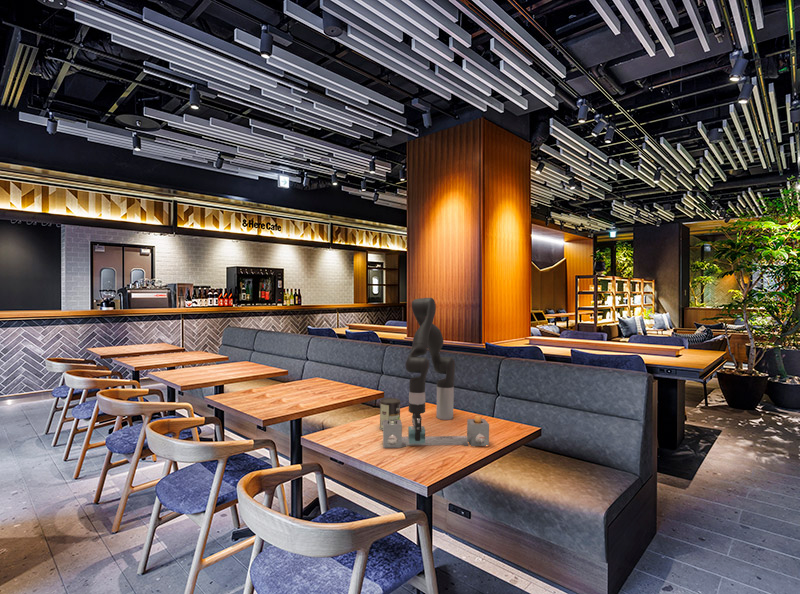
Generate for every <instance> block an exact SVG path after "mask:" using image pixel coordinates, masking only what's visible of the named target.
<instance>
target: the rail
mask: <svg viewBox="0 0 800 594" xmlns="http://www.w3.org/2000/svg"><path fill="white" fill-rule="evenodd" d="M407 446H409V447H412V446H415V447H417V446H419V447H420V446H463V447H469V443H468V438H467V435H447V436H446V435H441V436H440V435H438V436H436V435H435V436H426V435H425V444H409V437H408V436H402V448H406V447H407Z"/></svg>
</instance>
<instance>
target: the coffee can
mask: <svg viewBox="0 0 800 594" xmlns="http://www.w3.org/2000/svg"><path fill="white" fill-rule="evenodd" d="M379 405H380V406H379V429H380V431H383V420H401V399H399V398H395V397H387V398H382V399H380V400H379Z"/></svg>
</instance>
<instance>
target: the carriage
mask: <svg viewBox="0 0 800 594" xmlns="http://www.w3.org/2000/svg"><path fill="white" fill-rule="evenodd" d="M407 427H408V429H407V431H408V434H407V435H408V436H407V437H409V444H425V436H426V428H425V426H423V425H422V426H421V430H422V432H420V441H415V428H414V426H413V425H410V426H407ZM417 430H419V427H417Z"/></svg>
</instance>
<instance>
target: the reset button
mask: <svg viewBox="0 0 800 594" xmlns="http://www.w3.org/2000/svg"><path fill="white" fill-rule="evenodd" d="M474 419H475V423H481V419H482V416H481V415H480V414H477V415H474Z"/></svg>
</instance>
